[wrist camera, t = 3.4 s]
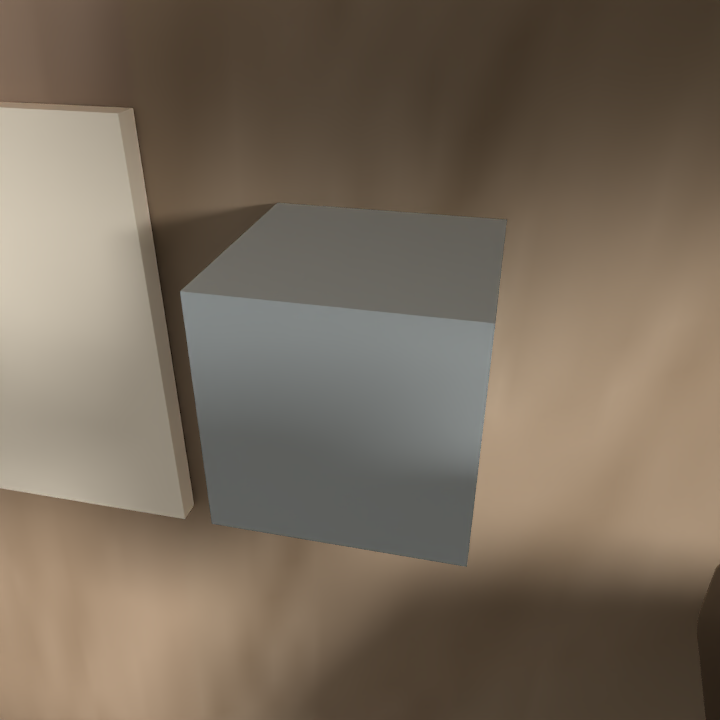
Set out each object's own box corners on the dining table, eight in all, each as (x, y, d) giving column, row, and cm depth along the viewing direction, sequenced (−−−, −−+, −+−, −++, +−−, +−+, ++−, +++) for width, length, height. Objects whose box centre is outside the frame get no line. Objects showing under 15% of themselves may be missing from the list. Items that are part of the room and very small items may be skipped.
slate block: (507, 218, 11) (495, 323, 8) (484, 415, 13) (466, 567, 10) (279, 201, 12) (180, 290, 9) (289, 390, 14) (212, 524, 11)
